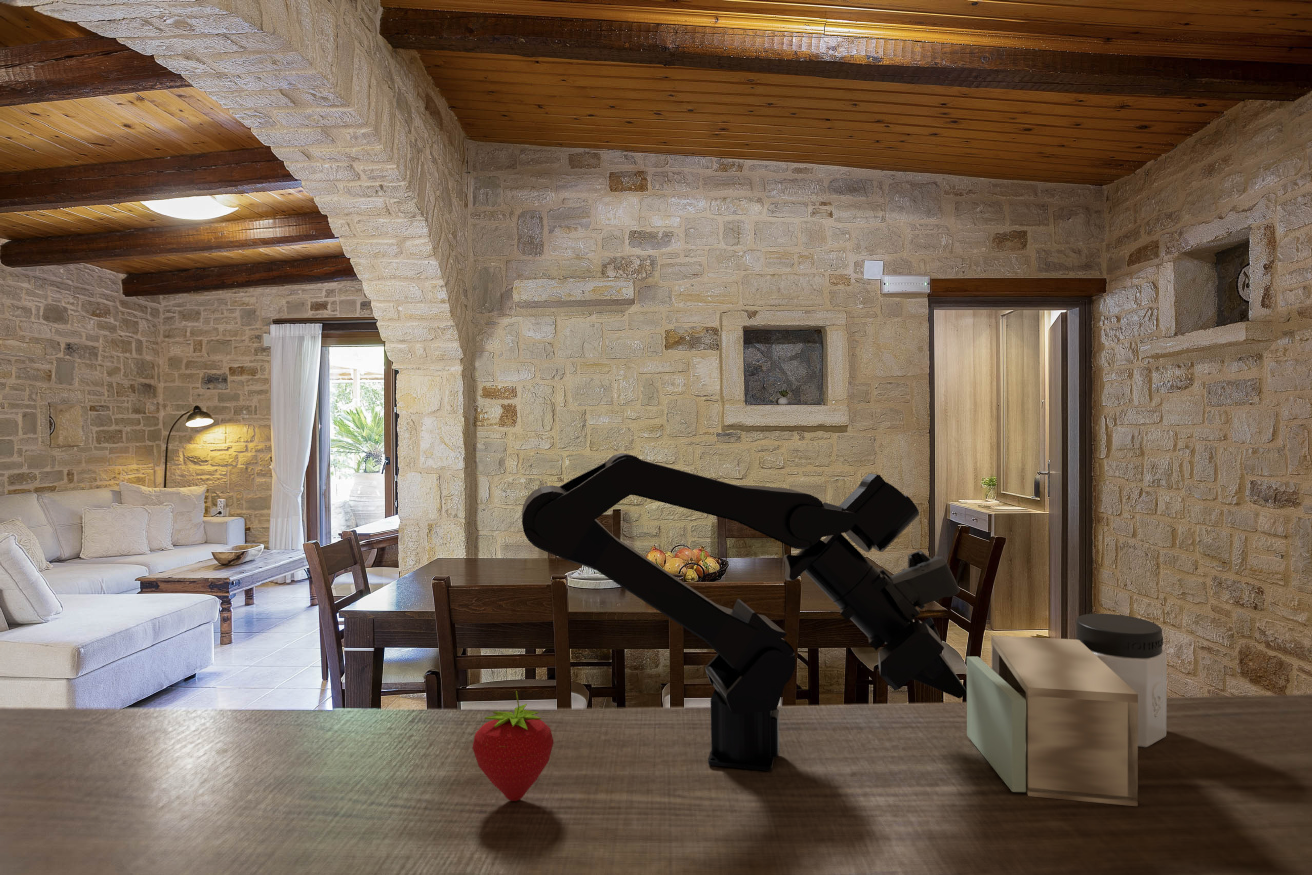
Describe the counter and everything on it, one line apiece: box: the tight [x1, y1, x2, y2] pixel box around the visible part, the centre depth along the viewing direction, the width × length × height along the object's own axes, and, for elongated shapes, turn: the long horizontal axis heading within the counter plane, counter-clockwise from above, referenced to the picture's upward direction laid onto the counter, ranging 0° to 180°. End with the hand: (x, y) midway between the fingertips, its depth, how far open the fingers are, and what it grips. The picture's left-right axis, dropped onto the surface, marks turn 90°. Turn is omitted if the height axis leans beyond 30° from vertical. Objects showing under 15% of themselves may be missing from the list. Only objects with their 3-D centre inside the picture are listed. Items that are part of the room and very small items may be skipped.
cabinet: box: [990, 635, 1139, 807], centre depth 75 cm, size 9×16×10 cm, turn 167°
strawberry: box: [472, 690, 554, 802], centre depth 69 cm, size 6×8×10 cm
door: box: [966, 656, 1027, 793], centre depth 74 cm, size 1×12×9 cm, turn 176°
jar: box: [1075, 613, 1168, 748], centre depth 81 cm, size 9×8×12 cm
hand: (963, 694), depth 76 cm, fingers closed
